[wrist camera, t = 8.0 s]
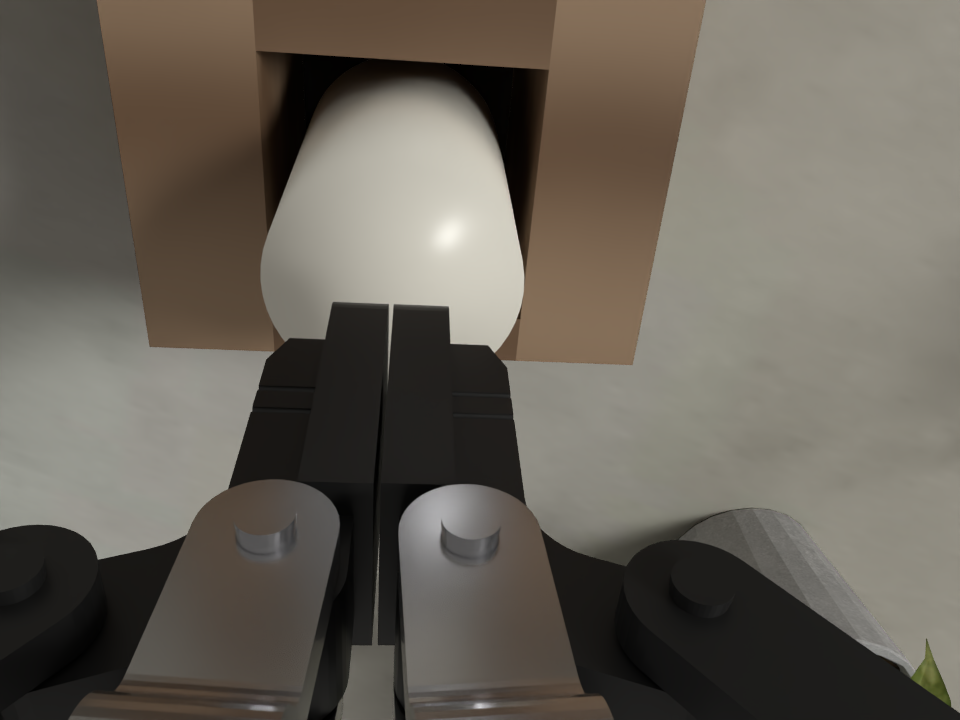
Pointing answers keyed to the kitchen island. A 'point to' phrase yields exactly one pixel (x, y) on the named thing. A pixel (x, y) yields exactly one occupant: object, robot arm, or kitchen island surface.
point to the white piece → (397, 207)
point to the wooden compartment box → (412, 37)
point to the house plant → (809, 581)
